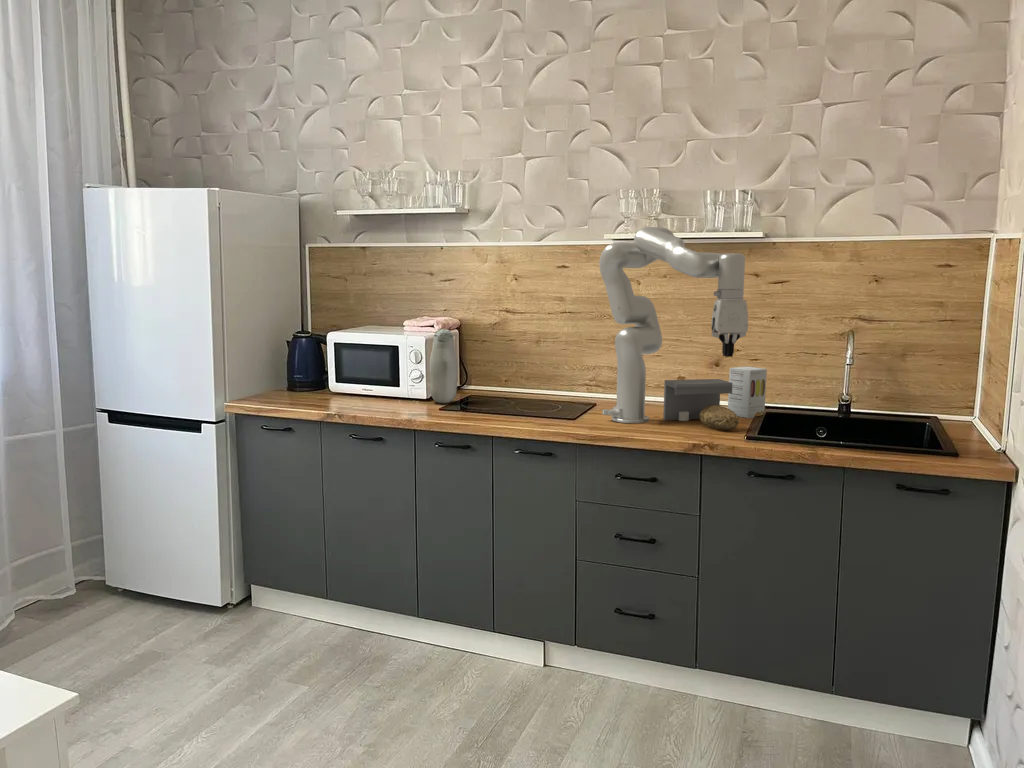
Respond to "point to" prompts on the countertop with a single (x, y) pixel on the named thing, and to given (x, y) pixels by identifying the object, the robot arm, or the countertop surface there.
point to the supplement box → (747, 391)
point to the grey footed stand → (692, 397)
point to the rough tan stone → (719, 417)
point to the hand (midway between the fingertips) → (727, 356)
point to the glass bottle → (443, 367)
